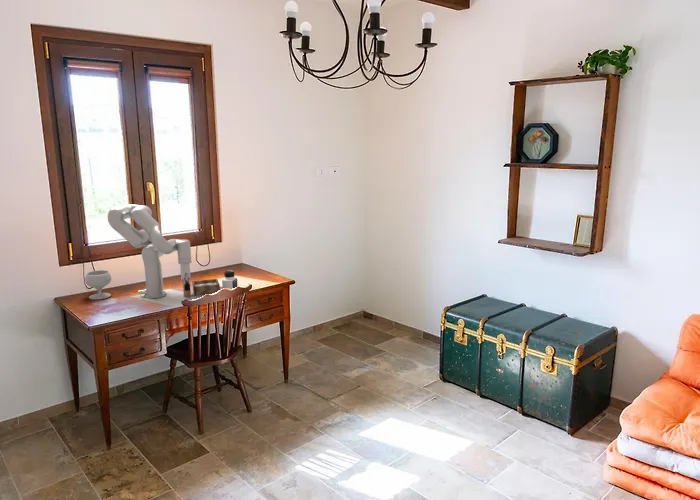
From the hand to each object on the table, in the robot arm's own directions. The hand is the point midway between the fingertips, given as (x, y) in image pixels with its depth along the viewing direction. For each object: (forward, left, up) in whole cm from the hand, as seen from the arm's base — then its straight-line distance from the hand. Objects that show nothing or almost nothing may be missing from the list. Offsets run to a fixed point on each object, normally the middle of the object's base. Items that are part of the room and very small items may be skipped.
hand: (187, 288), depth 303 cm
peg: (0, 0, -5) cm, 5 cm away
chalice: (-49, +17, -5) cm, 52 cm away
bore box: (+11, +4, -5) cm, 13 cm away
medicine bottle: (+26, +4, -5) cm, 27 cm away
